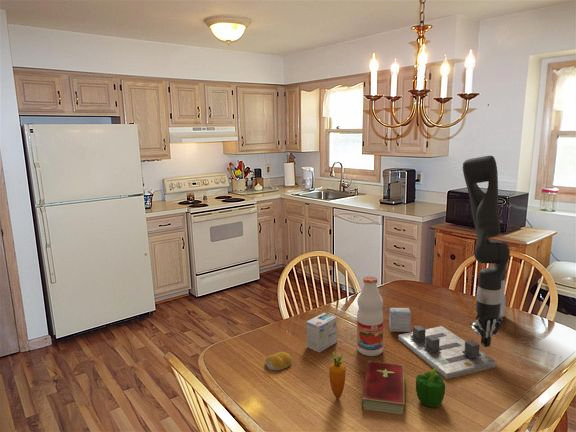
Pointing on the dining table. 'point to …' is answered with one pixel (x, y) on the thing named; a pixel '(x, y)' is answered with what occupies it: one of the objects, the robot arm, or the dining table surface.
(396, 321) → the medicine box
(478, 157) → the robot arm
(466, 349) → the lever
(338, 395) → the carrot
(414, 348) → the switch panel
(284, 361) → the bread roll
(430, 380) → the bell pepper
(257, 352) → the dining table surface
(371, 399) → the hardcover book
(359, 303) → the fruit juice
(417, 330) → the lever right
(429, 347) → the lever middle
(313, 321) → the light bulb box
